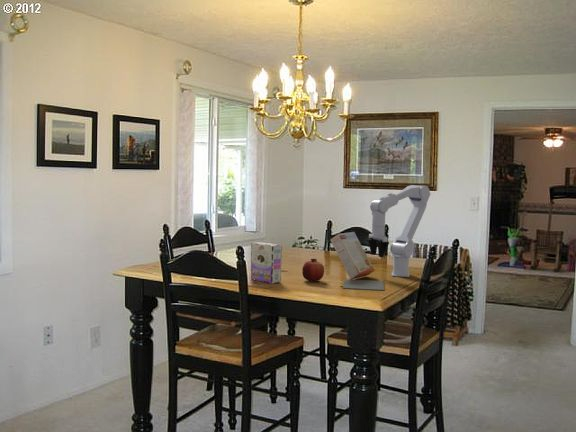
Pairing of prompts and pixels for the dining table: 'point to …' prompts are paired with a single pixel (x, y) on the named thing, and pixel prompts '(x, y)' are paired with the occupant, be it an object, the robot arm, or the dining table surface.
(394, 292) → the dining table surface
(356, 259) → the cracker box
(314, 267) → the fruit
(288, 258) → the dining table surface
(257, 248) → the candy box
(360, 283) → the mat
